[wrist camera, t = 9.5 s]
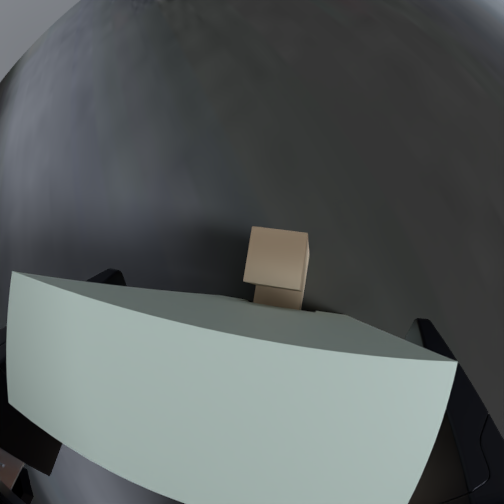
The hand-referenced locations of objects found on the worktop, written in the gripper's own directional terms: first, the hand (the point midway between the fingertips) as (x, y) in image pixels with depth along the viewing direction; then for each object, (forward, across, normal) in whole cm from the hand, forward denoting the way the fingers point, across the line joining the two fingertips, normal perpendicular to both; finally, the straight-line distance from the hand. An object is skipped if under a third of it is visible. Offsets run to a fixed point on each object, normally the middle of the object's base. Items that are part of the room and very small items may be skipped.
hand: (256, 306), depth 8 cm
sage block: (+4, 0, +6) cm, 7 cm away
